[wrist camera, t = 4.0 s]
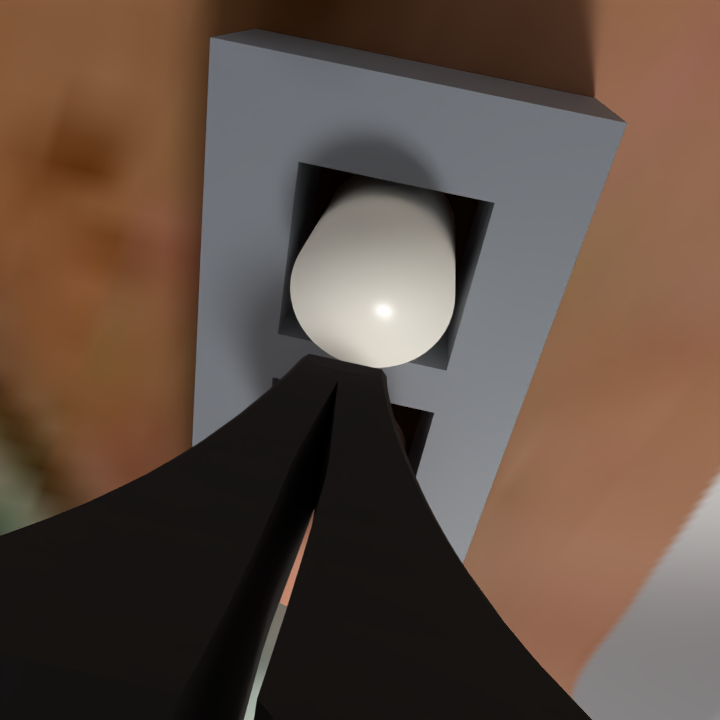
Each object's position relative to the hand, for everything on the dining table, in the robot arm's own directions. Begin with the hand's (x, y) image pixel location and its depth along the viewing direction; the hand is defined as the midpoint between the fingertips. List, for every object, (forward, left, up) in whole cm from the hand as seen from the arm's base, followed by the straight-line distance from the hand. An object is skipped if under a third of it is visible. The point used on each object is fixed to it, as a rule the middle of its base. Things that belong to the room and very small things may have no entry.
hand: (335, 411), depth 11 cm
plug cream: (0, 0, -9) cm, 9 cm away
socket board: (0, -6, -10) cm, 11 cm away
